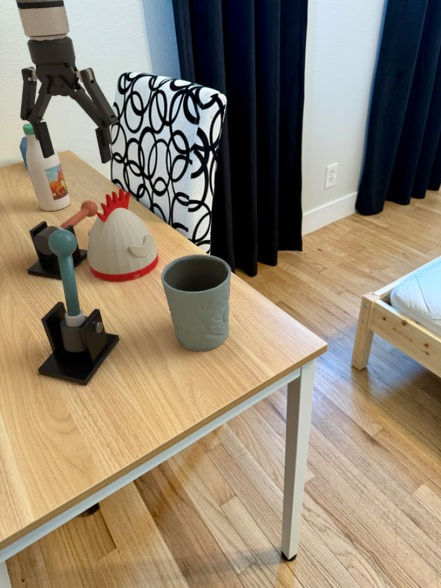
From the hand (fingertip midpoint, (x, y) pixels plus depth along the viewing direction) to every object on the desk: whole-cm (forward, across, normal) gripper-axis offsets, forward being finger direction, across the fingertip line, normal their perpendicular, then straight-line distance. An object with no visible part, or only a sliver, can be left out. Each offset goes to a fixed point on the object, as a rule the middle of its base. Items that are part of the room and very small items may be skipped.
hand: (77, 158), depth 87 cm
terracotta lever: (+14, +1, +7) cm, 15 cm away
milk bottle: (+18, +19, -11) cm, 28 cm away
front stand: (+17, -19, +34) cm, 42 cm away
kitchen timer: (+18, -12, +9) cm, 23 cm away
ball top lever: (+7, -19, +31) cm, 36 cm away
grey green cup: (+18, -35, +24) cm, 46 cm away
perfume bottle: (+17, +42, -35) cm, 57 cm away
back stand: (+17, 0, +12) cm, 21 cm away
